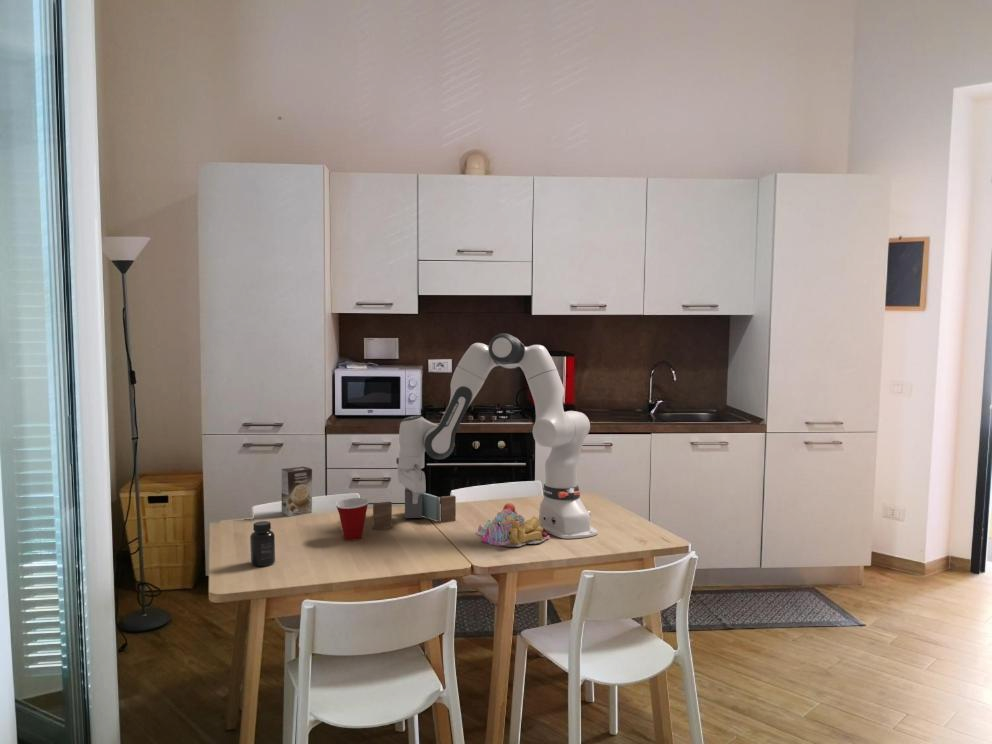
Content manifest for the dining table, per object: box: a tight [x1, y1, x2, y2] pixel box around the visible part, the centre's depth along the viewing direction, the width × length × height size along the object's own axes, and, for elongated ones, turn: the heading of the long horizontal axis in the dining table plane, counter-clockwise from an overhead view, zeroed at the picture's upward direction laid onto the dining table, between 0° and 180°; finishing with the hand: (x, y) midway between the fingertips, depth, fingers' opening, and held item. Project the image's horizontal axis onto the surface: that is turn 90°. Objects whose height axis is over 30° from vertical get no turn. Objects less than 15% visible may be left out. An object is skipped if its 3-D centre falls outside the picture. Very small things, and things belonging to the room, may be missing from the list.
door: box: [422, 492, 441, 522], centre depth 284 cm, size 1×17×8 cm, turn 43°
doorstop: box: [404, 489, 423, 519], centre depth 282 cm, size 4×6×9 cm, turn 97°
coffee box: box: [281, 466, 313, 517], centre depth 288 cm, size 9×6×16 cm
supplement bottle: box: [249, 520, 276, 568], centre depth 233 cm, size 7×7×12 cm
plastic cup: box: [334, 497, 370, 541], centre depth 259 cm, size 11×11×12 cm
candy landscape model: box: [476, 502, 552, 548], centre depth 262 cm, size 25×24×9 cm
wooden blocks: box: [372, 495, 457, 530], centre depth 275 cm, size 2×29×9 cm, turn 114°
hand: (411, 501), depth 282 cm, fingers closed on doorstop, 5 cm apart
